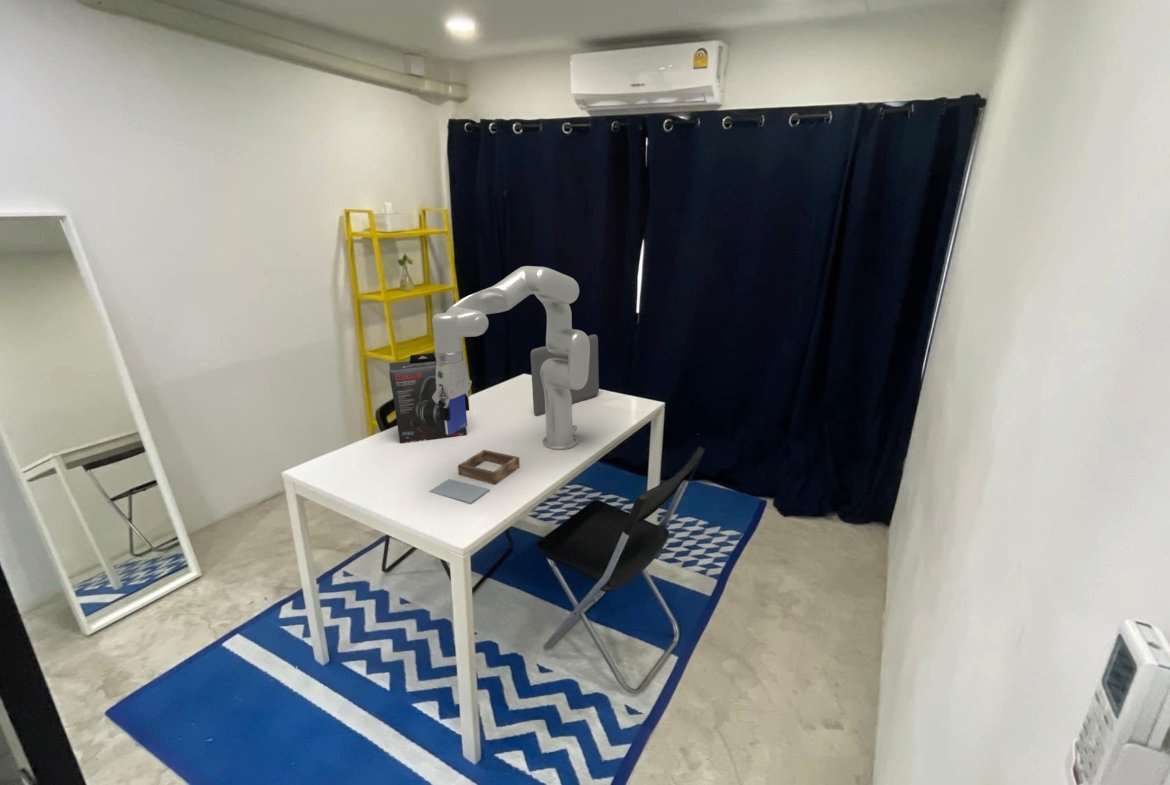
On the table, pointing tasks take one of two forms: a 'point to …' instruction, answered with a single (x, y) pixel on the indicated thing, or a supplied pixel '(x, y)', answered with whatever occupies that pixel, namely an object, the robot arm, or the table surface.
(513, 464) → the wooden square frame
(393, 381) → the headset box
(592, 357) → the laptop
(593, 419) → the table surface
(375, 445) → the table surface
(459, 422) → the hard drive
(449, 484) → the mat
